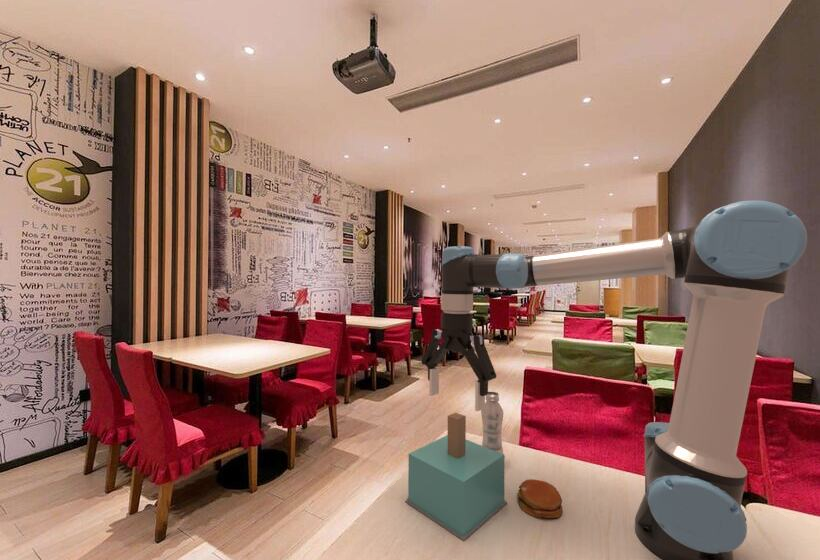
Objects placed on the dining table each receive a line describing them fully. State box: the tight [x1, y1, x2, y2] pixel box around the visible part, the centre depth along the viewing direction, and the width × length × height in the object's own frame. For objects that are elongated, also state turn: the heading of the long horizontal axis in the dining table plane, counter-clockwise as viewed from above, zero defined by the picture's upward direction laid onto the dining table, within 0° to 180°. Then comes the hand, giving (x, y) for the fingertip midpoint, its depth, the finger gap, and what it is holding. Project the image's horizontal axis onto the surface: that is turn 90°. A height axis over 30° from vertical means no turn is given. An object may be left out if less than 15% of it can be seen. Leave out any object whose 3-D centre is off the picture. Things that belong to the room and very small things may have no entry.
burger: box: [516, 478, 563, 519], centre depth 79 cm, size 10×9×5 cm
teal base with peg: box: [407, 412, 505, 537], centre depth 80 cm, size 16×16×20 cm
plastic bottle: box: [480, 391, 504, 454], centre depth 98 cm, size 6×7×20 cm
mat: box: [404, 498, 508, 542], centre depth 80 cm, size 17×17×1 cm
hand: (455, 401), depth 80 cm, fingers open, 13 cm apart
